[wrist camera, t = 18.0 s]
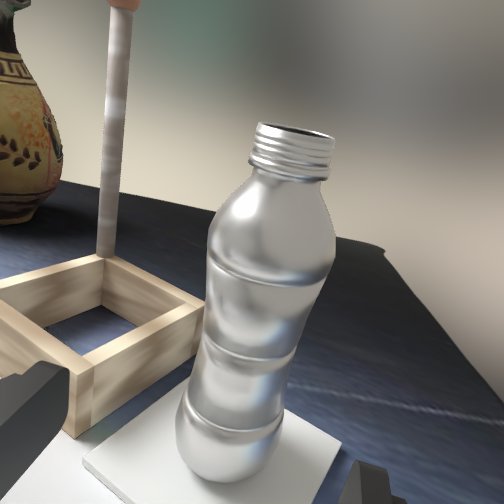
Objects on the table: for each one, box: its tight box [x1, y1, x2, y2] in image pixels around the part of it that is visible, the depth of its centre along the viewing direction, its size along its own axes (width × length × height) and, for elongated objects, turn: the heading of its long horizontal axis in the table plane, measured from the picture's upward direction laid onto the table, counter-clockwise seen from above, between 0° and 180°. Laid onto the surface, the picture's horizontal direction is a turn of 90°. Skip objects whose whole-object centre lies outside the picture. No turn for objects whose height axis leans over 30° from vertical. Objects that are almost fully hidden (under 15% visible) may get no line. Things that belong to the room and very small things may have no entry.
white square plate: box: [82, 375, 342, 504], centre depth 26 cm, size 12×12×1 cm
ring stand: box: [0, 0, 205, 439], centre depth 28 cm, size 13×13×28 cm
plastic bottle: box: [175, 122, 336, 484], centre depth 21 cm, size 6×7×20 cm
